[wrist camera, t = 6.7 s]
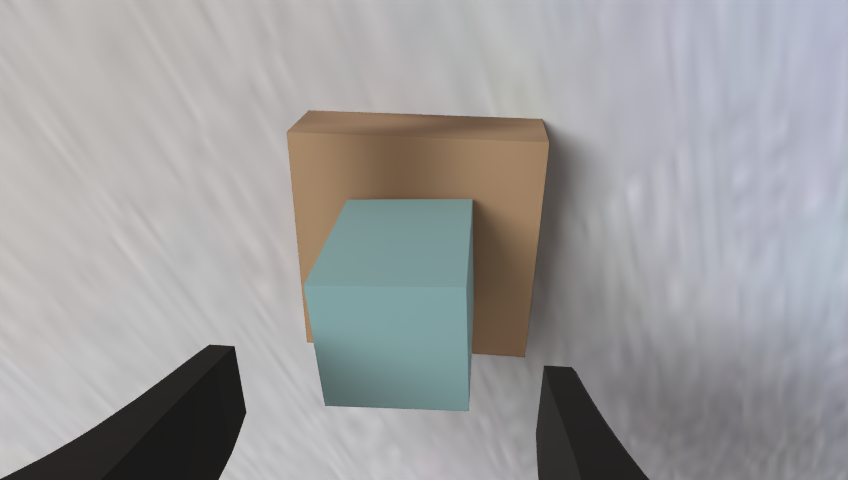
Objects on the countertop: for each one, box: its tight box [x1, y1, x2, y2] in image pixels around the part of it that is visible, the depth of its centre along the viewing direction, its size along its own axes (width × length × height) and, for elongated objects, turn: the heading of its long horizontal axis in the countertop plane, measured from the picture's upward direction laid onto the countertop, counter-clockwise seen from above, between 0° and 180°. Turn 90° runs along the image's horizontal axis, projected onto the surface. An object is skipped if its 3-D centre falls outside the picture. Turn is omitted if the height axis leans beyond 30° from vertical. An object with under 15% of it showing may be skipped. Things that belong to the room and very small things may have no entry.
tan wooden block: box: [287, 111, 549, 357], centre depth 21 cm, size 8×8×3 cm
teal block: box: [304, 199, 474, 411], centre depth 17 cm, size 4×4×5 cm
